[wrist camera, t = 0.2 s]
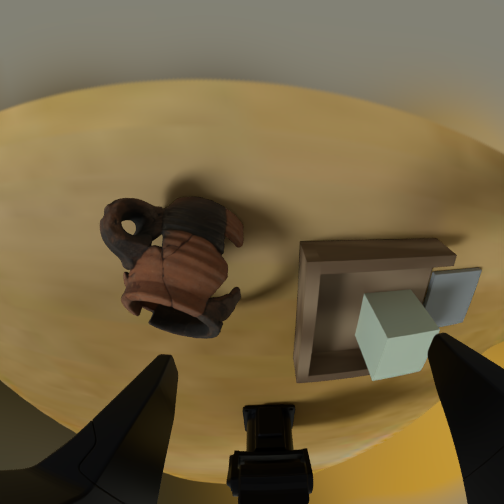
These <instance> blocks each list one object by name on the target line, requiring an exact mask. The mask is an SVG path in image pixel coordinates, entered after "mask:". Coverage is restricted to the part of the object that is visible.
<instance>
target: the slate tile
mask: <svg viewBox="0 0 504 504" xmlns="http://www.w3.org/2000/svg"><path fill="white" fill-rule="evenodd" d="M481 271H482V270H481V269H480V268H469V269H458V270H447V271H436V272H432V276H431V279H430V283H429V286H428V290H427V293H426V296H425V300H424V303H423V306H424V308H425V309H426V311H427V312H428V313H429V315H430V316H431V317H432V319H433V320H434V322H435V323H436V325H437V326H438V327H442V326H447V325H452V324H457V323H461V322H463V320H464V317H465V315H466V312H467V310H468V307H469V305H470V302H471V300H472V297H473V294H474V291H475V289H476V286H477V283H478V280H479V277H480V274H481Z"/></svg>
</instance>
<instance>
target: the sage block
mask: <svg viewBox="0 0 504 504" xmlns="http://www.w3.org/2000/svg"><path fill="white" fill-rule="evenodd" d="M439 330H440V329H439V327H438V326H437V325H436V323H435V322H434V320H433V319H432V317H431V316H430V315H429V313H428V312H427V311H426V309H425V308H424V306H423V305H422V304H421V302H420V301H419V300H418V298H417V297H416V296H415V294H414V293H413V292H412V290H411V289H409V290H398V291H388V292H376V293H364V296H363V301H362V306H361V311H360V315H359V320H358V324H357V329H356V333H355V337H356V339H357V342H358V344H359V347H360V349H361V352H362V355H363V357H364V360H365V362H366V365H367V368H368V370H369V373H370V376H371V379H372V381H374V380H379V379H385V378H390V377H395V376H400V375H405V374H409V373H414V372H418V371H421V369H422V367H423V365H424V363H425V361H426V359H427V357H428V349H429V347H430V344H431V342H432V340H433V337H434V336H435V335H436V334H438V333H439Z"/></svg>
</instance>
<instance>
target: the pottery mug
mask: <svg viewBox="0 0 504 504" xmlns="http://www.w3.org/2000/svg"><path fill="white" fill-rule="evenodd" d="M125 220H131V221H133V222H134V223H135V225H136V231H135V233H134V235H131V234H129V233H127V232H126V231H125V230H124V229H123V227H122V224H121V222H122V221H125ZM100 232H101V236H102V239H103V241H104V243H105V244H106V245H107V247H108V248H109V249H110V250H111V251H112V252H113V253H114V254H115V255H116V256H117V257H118V258H119V259H120V260H121V262H122V265H123V267H124V268H125V269H127V270H130V273H128V272H124V284H125V286H126V289H125V292H124V293H123V295H122V297H121V302H122V304H123V305H124V307H125V308H126V309H127V310H128V311H129V312H131V313H132V314H134V315H136V316H139V315H140V312H141V309H142V307H143V308H144V309H146V310H149V311H151V312H153V315H152V317H151V319H150V321H149V324H150V325H152V326H154V327H156V328H159V329H161V330H164V331H167V332H170V333H173V334H177V335H182V336H187V337H193V338H214V337H216V336H218V335H219V333H220V332H221V331H220V330H221V328H222V325H223V321H224V320H226V319H227V318H228V317H229V316H230V315H231V313H232V312H233V311H234V309H235V306H236V304H237V303H238V302H239V300H240V299H241V294H240V289H239V287H235V288H233V289H232V291H231V292H230V293H229V294H226V295H224V296H221V297H213V298H209V297H210V296H212V295H213V294H214V293H215V292H216V290H217V289H218V288H219V287H220V286H221V285H222V284H223V282H224V281H225V280H226V279H227V277H228V274H227V273H228V265H227V263H226V261H225V260H224V258H223V257H222V254H223V253H224V239H225V237H227V238H228V239H229V240H231V241H232V242H233V243H234V245H235V246H236V247H241V246H242V245H243V241H244V238H243V224H242V223H241V221H240V220H239V219H238V218H237V217H236V216H235V215H234V214H233V213H232V212H231V211H229V210H228V209H226V208H225V207H224V206H222V205H220V204H218V203H216V202H214V201H212V200H208V199H204V198H201V197H182V198H178V199H176V200H175V201H174V202H173V203H172V204H170V205H169V206H168V207H167V208H165V209H163V208H162V207H156V206H153V205H151V204H149V203H147V202H145V201H143V200H139V199H135V198H122V199H118V200H115V201H113V202H112V203H111V204H108V205H107V206H106V207H105V209H104V216H103V218H102V219H101V221H100ZM161 234H162V235H163V241H162V247H159V246H156V245H153V246H151V244H152V241H153V240H155V239H156V238H157V237H159V236H160V235H161Z"/></svg>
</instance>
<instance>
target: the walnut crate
mask: <svg viewBox="0 0 504 504" xmlns="http://www.w3.org/2000/svg"><path fill="white" fill-rule="evenodd" d="M456 256H457V255H456V254H455V253H454V252H452V251H451V250H450V249H449V248H448V247H446V246H445V245H444V244H443V243H442V242H440V241H439V240H438V239H437V238H432V239H384V240H343V241H307V242H300V253H299V277H298V297H297V313H296V329H295V342H294V355H293V360H294V367H295V374H296V382H297V383H306V382H318V381H327V380H336V379H344V378H352V377H359V376H366V375H370V373H369V370H368V368H367V365H366V362H365V360H364V357H363V355H362V352H361V349H360V347H359V344H358V342H357V339H356V337H355V333H356V329H357V324H358V320H359V315H360V311H361V306H362V301H363V296H364V293H376V292H388V291H398V290H409V289H411V290H412V292H413V293H414V294H415V296H416V297H417V298H418V300H419V301H420V302H421V304H422V302H423V299H424V296H425V292H426V289H427V286H428V282H429V278H430V275H431V271H432V268H434V267H447V266H454V263H455V260H456Z"/></svg>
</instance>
